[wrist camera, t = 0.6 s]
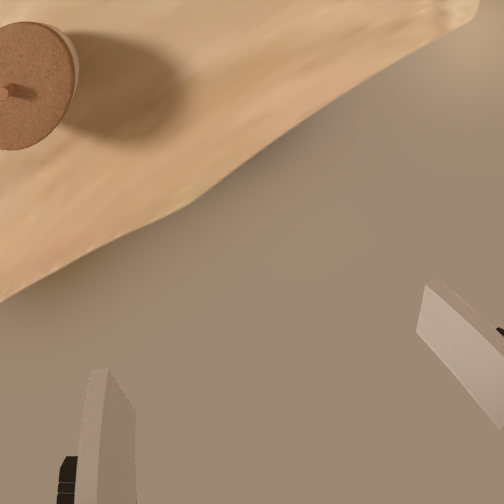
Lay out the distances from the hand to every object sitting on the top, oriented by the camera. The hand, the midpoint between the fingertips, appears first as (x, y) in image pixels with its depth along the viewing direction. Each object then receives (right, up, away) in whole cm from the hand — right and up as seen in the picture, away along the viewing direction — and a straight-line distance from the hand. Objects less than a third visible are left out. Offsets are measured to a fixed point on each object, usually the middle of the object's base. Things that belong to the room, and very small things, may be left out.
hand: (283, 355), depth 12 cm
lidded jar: (-21, +21, +10) cm, 32 cm away
